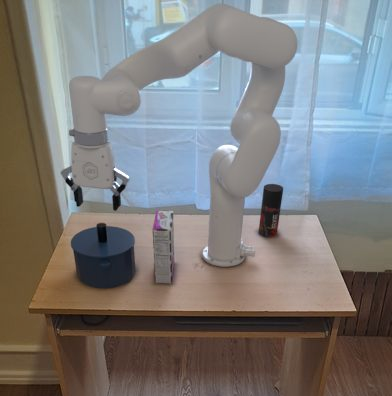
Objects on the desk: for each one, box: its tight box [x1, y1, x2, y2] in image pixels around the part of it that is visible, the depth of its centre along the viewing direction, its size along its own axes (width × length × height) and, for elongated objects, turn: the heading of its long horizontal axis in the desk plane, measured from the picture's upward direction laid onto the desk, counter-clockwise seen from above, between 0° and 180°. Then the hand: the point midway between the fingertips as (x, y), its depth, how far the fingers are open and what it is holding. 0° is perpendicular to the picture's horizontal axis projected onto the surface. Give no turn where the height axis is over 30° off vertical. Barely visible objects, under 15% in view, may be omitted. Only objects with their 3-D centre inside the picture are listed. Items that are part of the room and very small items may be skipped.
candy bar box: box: [152, 210, 175, 285], centre depth 134 cm, size 11×5×16 cm, turn 179°
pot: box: [72, 245, 136, 289], centre depth 136 cm, size 16×21×10 cm
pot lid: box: [70, 222, 136, 258], centre depth 132 cm, size 17×17×6 cm
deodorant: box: [258, 183, 284, 238], centre depth 155 cm, size 6×6×15 cm
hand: (98, 206), depth 127 cm, fingers open, 9 cm apart
